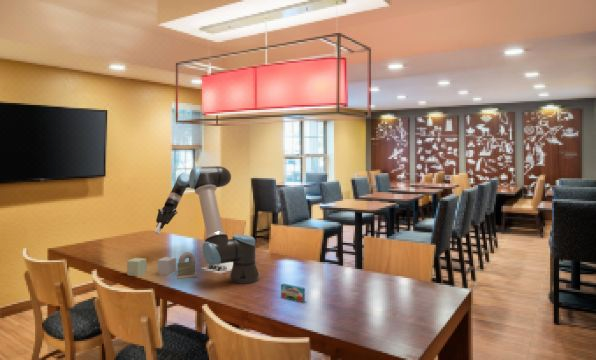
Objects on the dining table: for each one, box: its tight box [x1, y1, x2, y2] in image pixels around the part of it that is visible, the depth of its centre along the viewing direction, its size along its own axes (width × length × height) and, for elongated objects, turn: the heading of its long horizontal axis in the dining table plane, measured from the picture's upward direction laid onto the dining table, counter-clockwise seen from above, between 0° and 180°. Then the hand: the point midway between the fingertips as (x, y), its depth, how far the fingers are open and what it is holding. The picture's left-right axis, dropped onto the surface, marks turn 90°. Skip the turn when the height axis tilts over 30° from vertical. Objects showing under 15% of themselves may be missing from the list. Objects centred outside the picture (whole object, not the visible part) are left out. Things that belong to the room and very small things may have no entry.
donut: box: [178, 251, 196, 263], centre depth 234 cm, size 10×4×10 cm, turn 134°
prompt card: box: [176, 260, 198, 280], centre depth 220 cm, size 4×10×8 cm, turn 109°
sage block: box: [126, 257, 148, 277], centre depth 225 cm, size 7×7×8 cm
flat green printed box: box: [280, 283, 306, 303], centre depth 186 cm, size 12×2×6 cm, turn 57°
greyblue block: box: [157, 256, 177, 276], centre depth 227 cm, size 7×7×8 cm
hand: (156, 232), depth 242 cm, fingers closed
